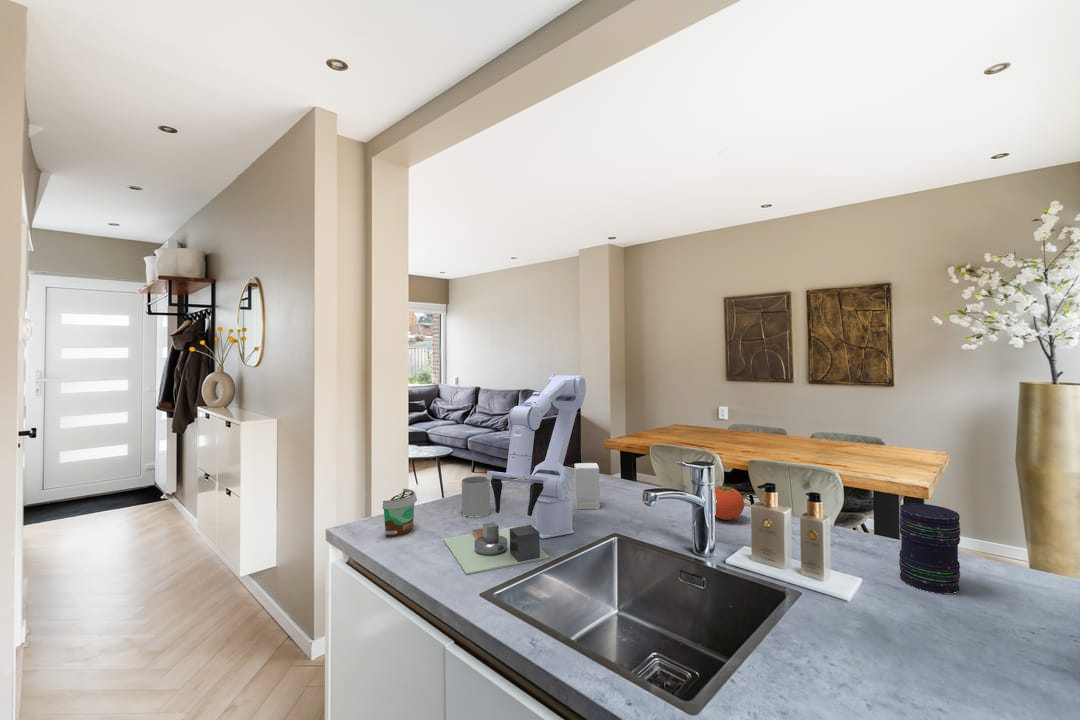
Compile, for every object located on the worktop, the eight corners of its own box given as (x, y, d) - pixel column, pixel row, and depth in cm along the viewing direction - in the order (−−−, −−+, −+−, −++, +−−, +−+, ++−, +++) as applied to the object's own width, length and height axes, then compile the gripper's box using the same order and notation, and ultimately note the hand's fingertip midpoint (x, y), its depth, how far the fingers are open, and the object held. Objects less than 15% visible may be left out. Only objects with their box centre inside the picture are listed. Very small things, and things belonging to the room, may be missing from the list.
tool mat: (515, 527, 138) (515, 526, 138) (549, 558, 118) (549, 556, 118) (443, 540, 130) (443, 538, 130) (466, 575, 109) (466, 573, 109)
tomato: (750, 525, 137) (750, 489, 137) (712, 525, 137) (712, 489, 137) (736, 512, 147) (736, 479, 147) (701, 513, 147) (701, 479, 147)
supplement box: (600, 509, 152) (599, 468, 152) (575, 509, 152) (575, 468, 152) (597, 501, 160) (597, 462, 159) (574, 502, 160) (573, 462, 159)
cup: (475, 506, 157) (475, 474, 156) (495, 511, 152) (495, 478, 152) (456, 514, 150) (455, 481, 150) (476, 519, 145) (476, 485, 145)
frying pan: (512, 552, 120) (511, 527, 120) (480, 558, 117) (479, 533, 117) (491, 531, 134) (491, 508, 134) (462, 536, 131) (462, 513, 131)
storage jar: (888, 577, 106) (888, 507, 105) (917, 568, 109) (917, 500, 109) (941, 598, 96) (942, 521, 96) (971, 588, 100) (971, 514, 100)
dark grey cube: (530, 549, 122) (530, 524, 122) (539, 557, 117) (539, 532, 117) (510, 553, 120) (509, 528, 120) (518, 562, 115) (517, 536, 115)
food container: (404, 540, 130) (403, 502, 129) (383, 539, 131) (382, 501, 131) (425, 524, 142) (424, 488, 142) (404, 522, 143) (404, 488, 143)
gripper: (491, 452, 116) (484, 513, 113) (552, 459, 118) (546, 518, 115) (489, 452, 122) (481, 509, 120) (547, 458, 125) (541, 515, 122)
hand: (513, 514), depth 118 cm, fingers open, 7 cm apart
